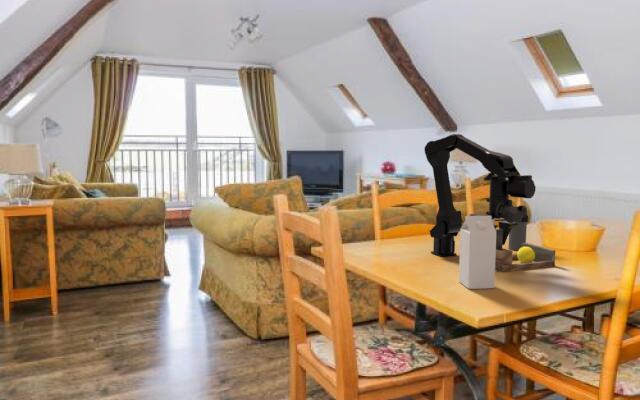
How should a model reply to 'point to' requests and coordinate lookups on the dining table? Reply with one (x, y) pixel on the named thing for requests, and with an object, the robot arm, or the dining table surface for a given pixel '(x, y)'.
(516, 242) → the bottle
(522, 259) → the lemon
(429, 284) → the dining table surface
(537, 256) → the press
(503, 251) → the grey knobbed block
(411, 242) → the dining table surface
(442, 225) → the robot arm
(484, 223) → the milk carton
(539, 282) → the dining table surface
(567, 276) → the dining table surface
